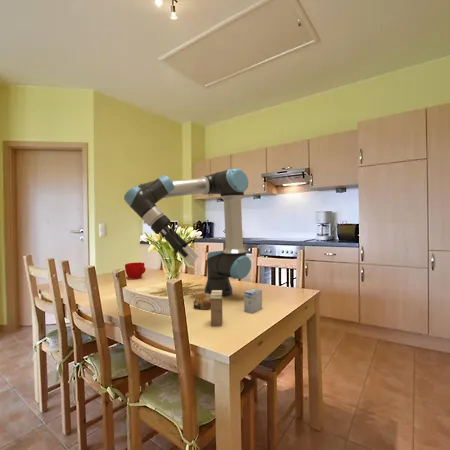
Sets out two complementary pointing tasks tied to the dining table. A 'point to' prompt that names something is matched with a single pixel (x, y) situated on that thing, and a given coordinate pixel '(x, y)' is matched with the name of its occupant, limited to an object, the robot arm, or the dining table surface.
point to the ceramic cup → (134, 270)
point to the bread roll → (203, 301)
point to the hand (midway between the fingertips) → (195, 260)
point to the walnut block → (216, 308)
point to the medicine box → (252, 300)
